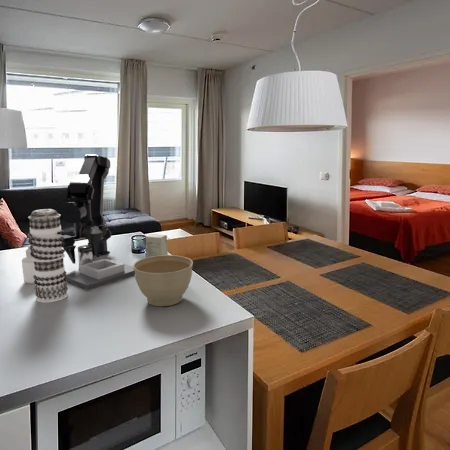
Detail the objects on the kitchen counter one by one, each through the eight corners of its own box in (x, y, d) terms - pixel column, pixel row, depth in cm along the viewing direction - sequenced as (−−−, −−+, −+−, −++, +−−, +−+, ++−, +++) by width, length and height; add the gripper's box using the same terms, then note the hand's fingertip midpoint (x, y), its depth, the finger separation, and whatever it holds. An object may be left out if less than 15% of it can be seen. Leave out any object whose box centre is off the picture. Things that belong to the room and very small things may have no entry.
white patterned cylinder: (56, 288, 114) (48, 206, 108) (76, 294, 109) (69, 209, 104) (27, 298, 106) (17, 211, 101) (48, 305, 101) (39, 214, 96)
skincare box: (168, 268, 132) (167, 234, 130) (162, 272, 128) (161, 237, 126) (152, 266, 134) (151, 233, 132) (146, 270, 130) (144, 236, 128)
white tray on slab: (114, 264, 136) (114, 254, 135) (140, 272, 128) (140, 261, 127) (62, 280, 121) (61, 268, 120) (88, 290, 112) (87, 277, 111)
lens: (88, 262, 138) (87, 244, 137) (96, 265, 135) (94, 246, 134) (76, 266, 134) (74, 247, 133) (83, 268, 132) (82, 249, 130)
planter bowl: (172, 285, 117) (171, 251, 115) (204, 301, 105) (204, 264, 103) (124, 298, 107) (122, 261, 104) (154, 318, 95) (152, 277, 92)
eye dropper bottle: (29, 286, 115) (25, 248, 113) (22, 281, 119) (18, 245, 116) (44, 282, 118) (40, 245, 116) (37, 278, 122) (33, 242, 120)
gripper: (70, 224, 119) (74, 271, 122) (119, 216, 134) (121, 258, 137) (52, 220, 126) (56, 265, 129) (100, 212, 140) (103, 253, 143)
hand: (85, 260), depth 134 cm, fingers open, 9 cm apart
